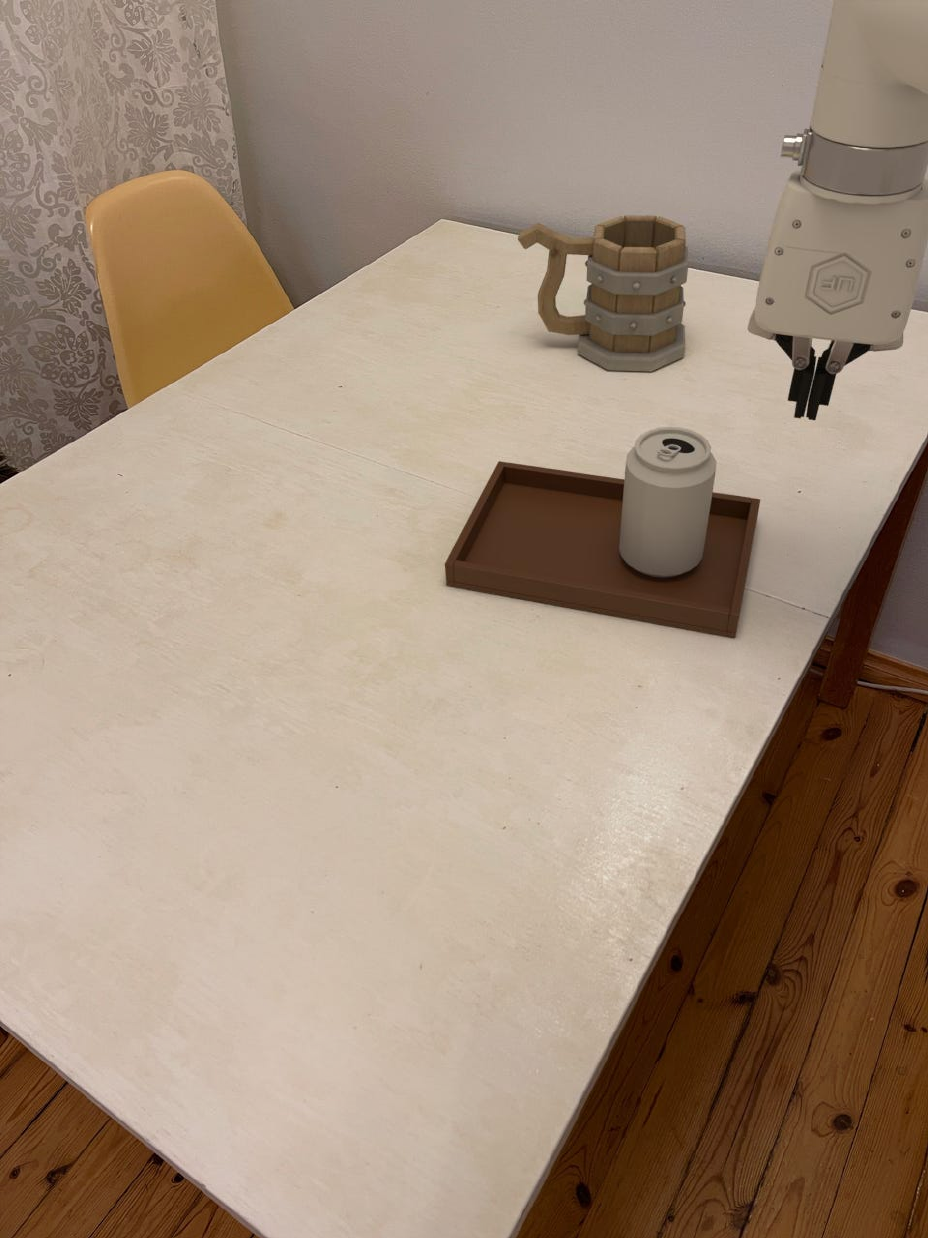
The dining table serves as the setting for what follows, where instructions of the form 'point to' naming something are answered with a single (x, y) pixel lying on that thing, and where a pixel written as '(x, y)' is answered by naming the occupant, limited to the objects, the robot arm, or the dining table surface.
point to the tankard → (621, 291)
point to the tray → (596, 551)
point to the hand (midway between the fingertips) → (805, 409)
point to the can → (666, 501)
